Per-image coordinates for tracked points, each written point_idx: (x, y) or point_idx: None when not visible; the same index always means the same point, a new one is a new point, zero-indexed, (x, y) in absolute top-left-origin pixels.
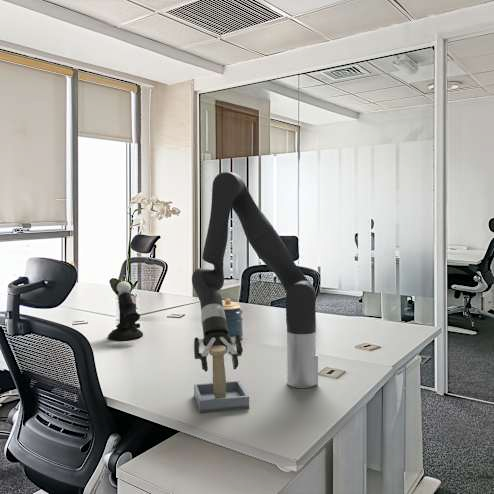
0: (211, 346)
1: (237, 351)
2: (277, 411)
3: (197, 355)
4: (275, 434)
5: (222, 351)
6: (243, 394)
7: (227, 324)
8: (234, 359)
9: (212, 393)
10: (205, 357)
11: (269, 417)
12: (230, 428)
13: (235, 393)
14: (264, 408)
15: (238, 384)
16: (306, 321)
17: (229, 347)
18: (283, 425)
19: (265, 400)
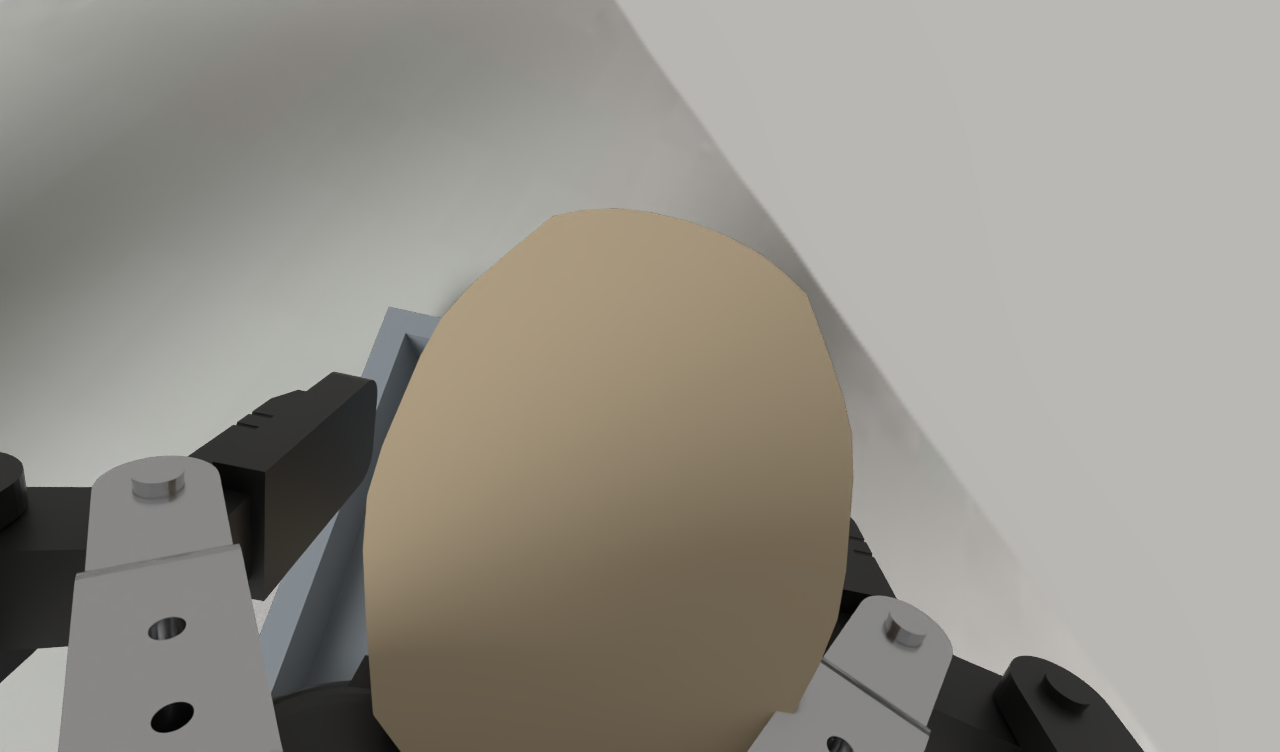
0: None
1: (46, 532)
2: (260, 226)
3: (1021, 666)
4: (471, 24)
5: (605, 218)
6: (378, 427)
7: None
8: (302, 418)
9: None
10: (846, 580)
11: (372, 180)
12: (652, 169)
13: (361, 642)
14: (306, 307)
15: (278, 678)
16: None
17: (209, 552)
18: (368, 71)
19: (185, 440)
